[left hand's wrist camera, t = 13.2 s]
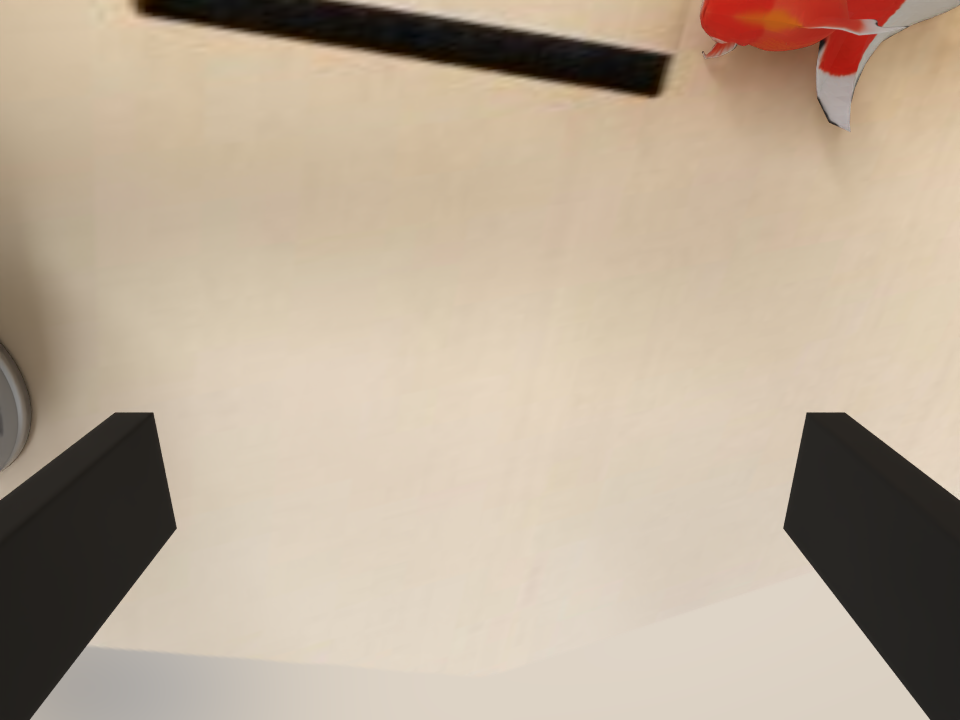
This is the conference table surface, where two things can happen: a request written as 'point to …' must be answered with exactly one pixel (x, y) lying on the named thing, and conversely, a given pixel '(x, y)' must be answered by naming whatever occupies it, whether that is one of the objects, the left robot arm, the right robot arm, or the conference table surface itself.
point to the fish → (817, 35)
